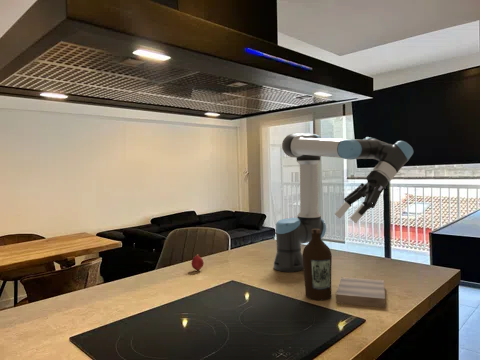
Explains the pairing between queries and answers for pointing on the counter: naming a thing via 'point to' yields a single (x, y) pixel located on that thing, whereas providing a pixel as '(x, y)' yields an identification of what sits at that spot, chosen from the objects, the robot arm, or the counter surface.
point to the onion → (197, 262)
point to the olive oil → (317, 268)
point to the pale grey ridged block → (361, 292)
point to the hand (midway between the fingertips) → (344, 218)
